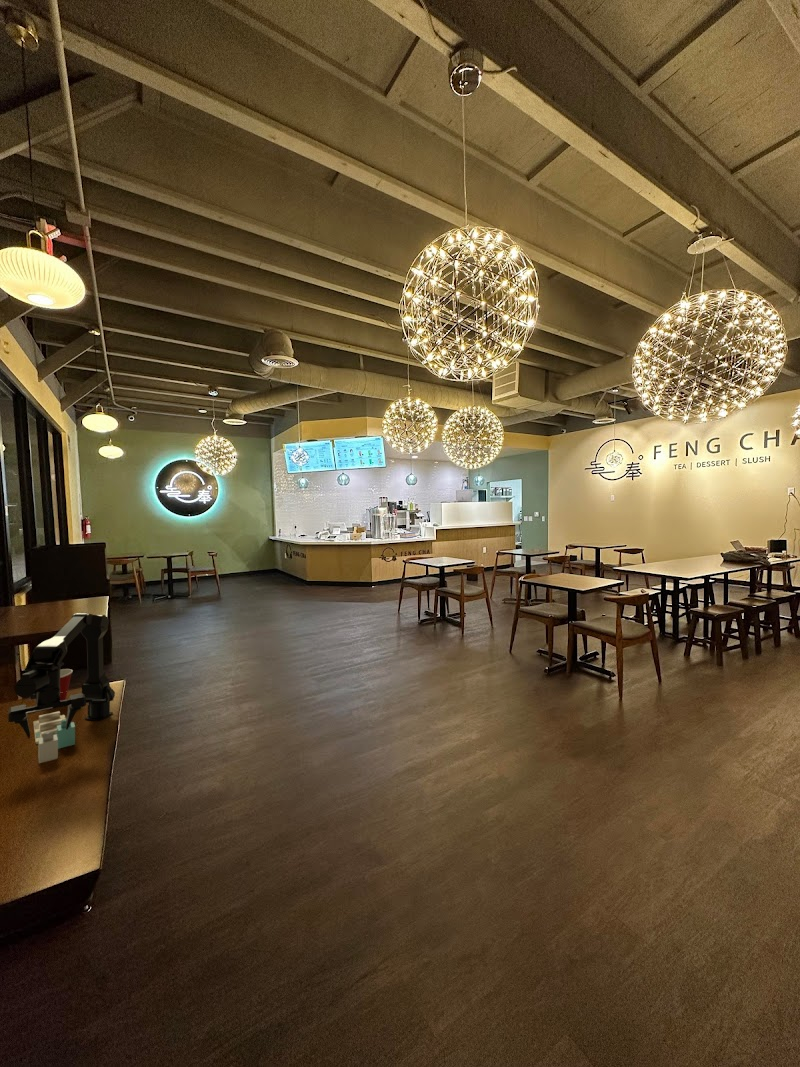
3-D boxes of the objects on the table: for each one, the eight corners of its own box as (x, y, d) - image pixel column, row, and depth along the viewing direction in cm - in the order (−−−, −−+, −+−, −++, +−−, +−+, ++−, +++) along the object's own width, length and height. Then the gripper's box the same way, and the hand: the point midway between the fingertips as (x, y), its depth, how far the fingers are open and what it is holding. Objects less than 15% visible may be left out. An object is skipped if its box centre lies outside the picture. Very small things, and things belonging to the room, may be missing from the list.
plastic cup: (39, 700, 177) (39, 671, 177) (72, 694, 184) (72, 666, 183) (37, 710, 169) (37, 679, 168) (72, 703, 175) (72, 674, 175)
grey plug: (56, 752, 139) (56, 728, 139) (57, 758, 136) (57, 733, 136) (38, 757, 136) (38, 732, 136) (39, 763, 133) (39, 737, 133)
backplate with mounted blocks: (64, 716, 164) (64, 709, 164) (69, 735, 150) (69, 728, 150) (33, 723, 158) (33, 716, 158) (35, 744, 144) (35, 736, 144)
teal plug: (73, 739, 148) (73, 716, 148) (74, 744, 145) (75, 720, 144) (56, 743, 145) (56, 719, 145) (57, 748, 142) (58, 724, 141)
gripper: (82, 671, 148) (81, 716, 148) (8, 683, 135) (8, 732, 136) (86, 680, 140) (86, 728, 140) (8, 695, 127) (8, 747, 128)
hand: (48, 733), depth 136 cm, fingers open, 9 cm apart
